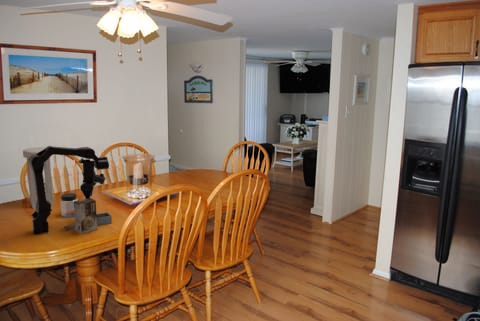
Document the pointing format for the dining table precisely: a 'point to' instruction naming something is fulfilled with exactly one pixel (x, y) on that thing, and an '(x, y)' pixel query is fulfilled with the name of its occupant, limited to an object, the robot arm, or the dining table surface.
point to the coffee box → (85, 215)
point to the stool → (32, 189)
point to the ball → (70, 212)
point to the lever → (69, 216)
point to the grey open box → (104, 218)
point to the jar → (67, 202)
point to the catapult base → (70, 227)
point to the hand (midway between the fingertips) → (89, 198)
